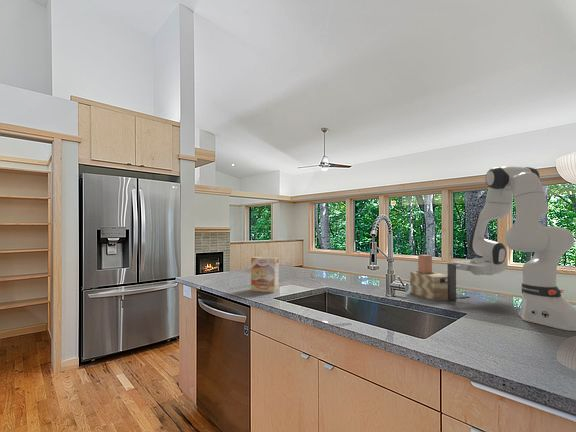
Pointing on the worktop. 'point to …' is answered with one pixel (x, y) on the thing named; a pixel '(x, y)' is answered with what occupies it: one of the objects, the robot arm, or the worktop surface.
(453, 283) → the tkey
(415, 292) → the beige patterned box
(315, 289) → the worktop surface
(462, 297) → the pad
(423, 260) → the reddish pink block
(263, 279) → the coffeecake box
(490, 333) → the worktop surface
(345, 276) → the worktop surface
